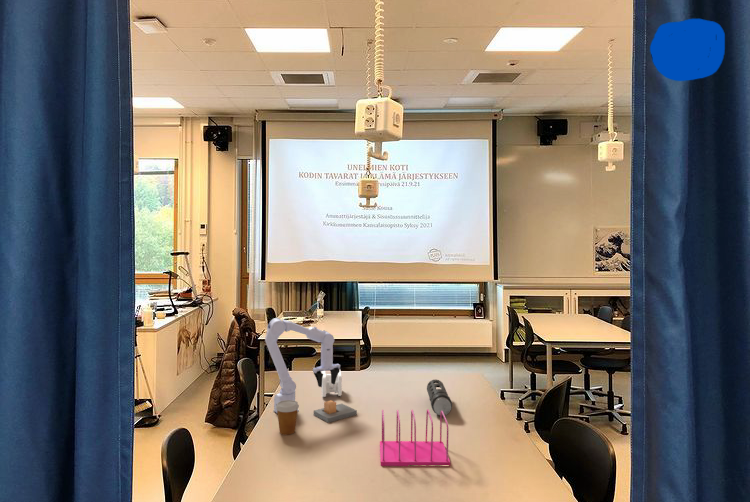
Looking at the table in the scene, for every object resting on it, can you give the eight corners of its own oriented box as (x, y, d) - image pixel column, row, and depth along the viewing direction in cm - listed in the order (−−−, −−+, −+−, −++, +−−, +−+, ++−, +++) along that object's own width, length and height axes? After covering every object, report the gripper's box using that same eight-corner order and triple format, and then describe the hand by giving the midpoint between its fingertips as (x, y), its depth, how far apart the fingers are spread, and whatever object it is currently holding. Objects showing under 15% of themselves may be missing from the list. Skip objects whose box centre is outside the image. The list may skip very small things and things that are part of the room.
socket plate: (327, 422, 207) (327, 418, 207) (313, 414, 216) (313, 410, 216) (356, 414, 217) (356, 410, 217) (341, 407, 226) (341, 403, 226)
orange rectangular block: (328, 417, 214) (328, 404, 214) (324, 414, 217) (324, 402, 217) (336, 415, 216) (336, 402, 216) (331, 413, 219) (331, 400, 219)
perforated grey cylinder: (444, 398, 241) (444, 378, 241) (452, 419, 213) (453, 396, 213) (426, 398, 241) (426, 378, 241) (431, 418, 213) (432, 396, 213)
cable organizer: (341, 398, 240) (342, 376, 240) (321, 399, 238) (321, 376, 238) (340, 389, 255) (340, 368, 254) (320, 390, 253) (320, 368, 253)
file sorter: (379, 445, 185) (380, 406, 184) (442, 445, 185) (443, 406, 185) (380, 466, 167) (381, 422, 167) (450, 466, 167) (450, 423, 167)
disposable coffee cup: (293, 437, 191) (294, 408, 191) (272, 435, 193) (272, 406, 193) (302, 428, 200) (302, 400, 200) (281, 426, 202) (281, 399, 202)
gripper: (318, 361, 220) (318, 389, 220) (343, 356, 229) (343, 384, 229) (310, 358, 225) (310, 386, 226) (335, 354, 235) (335, 381, 235)
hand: (326, 385), depth 228 cm, fingers open, 7 cm apart
